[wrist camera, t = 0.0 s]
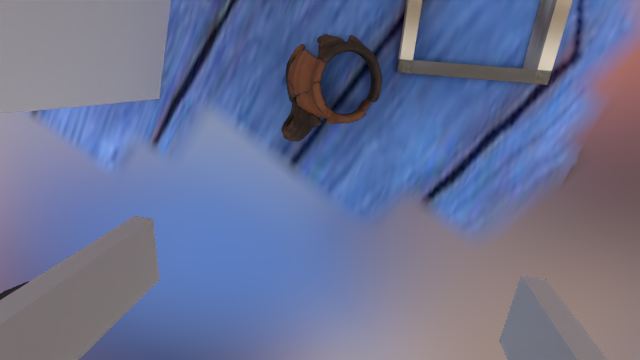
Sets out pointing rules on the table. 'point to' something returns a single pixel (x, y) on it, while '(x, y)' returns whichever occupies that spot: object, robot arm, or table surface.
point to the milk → (80, 52)
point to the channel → (534, 68)
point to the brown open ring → (307, 86)
